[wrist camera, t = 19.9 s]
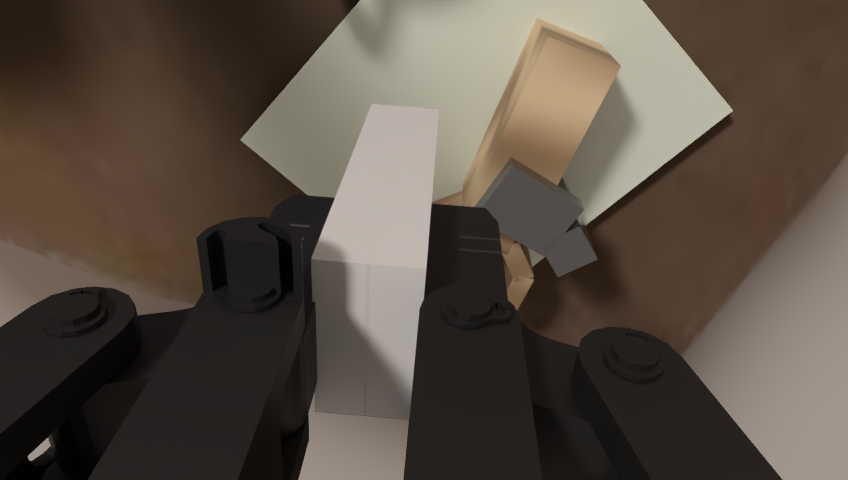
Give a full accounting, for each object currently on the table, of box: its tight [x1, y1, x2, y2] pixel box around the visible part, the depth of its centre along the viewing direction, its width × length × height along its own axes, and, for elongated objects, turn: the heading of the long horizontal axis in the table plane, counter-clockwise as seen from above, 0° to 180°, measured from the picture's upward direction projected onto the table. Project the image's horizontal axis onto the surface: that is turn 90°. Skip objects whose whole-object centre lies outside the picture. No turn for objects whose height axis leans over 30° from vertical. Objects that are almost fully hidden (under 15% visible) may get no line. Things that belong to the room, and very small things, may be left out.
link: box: [432, 18, 621, 310], centre depth 37 cm, size 18×7×5 cm, turn 160°
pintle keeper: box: [475, 157, 598, 277], centre depth 37 cm, size 7×10×9 cm
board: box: [241, 0, 733, 267], centre depth 38 cm, size 20×22×1 cm
